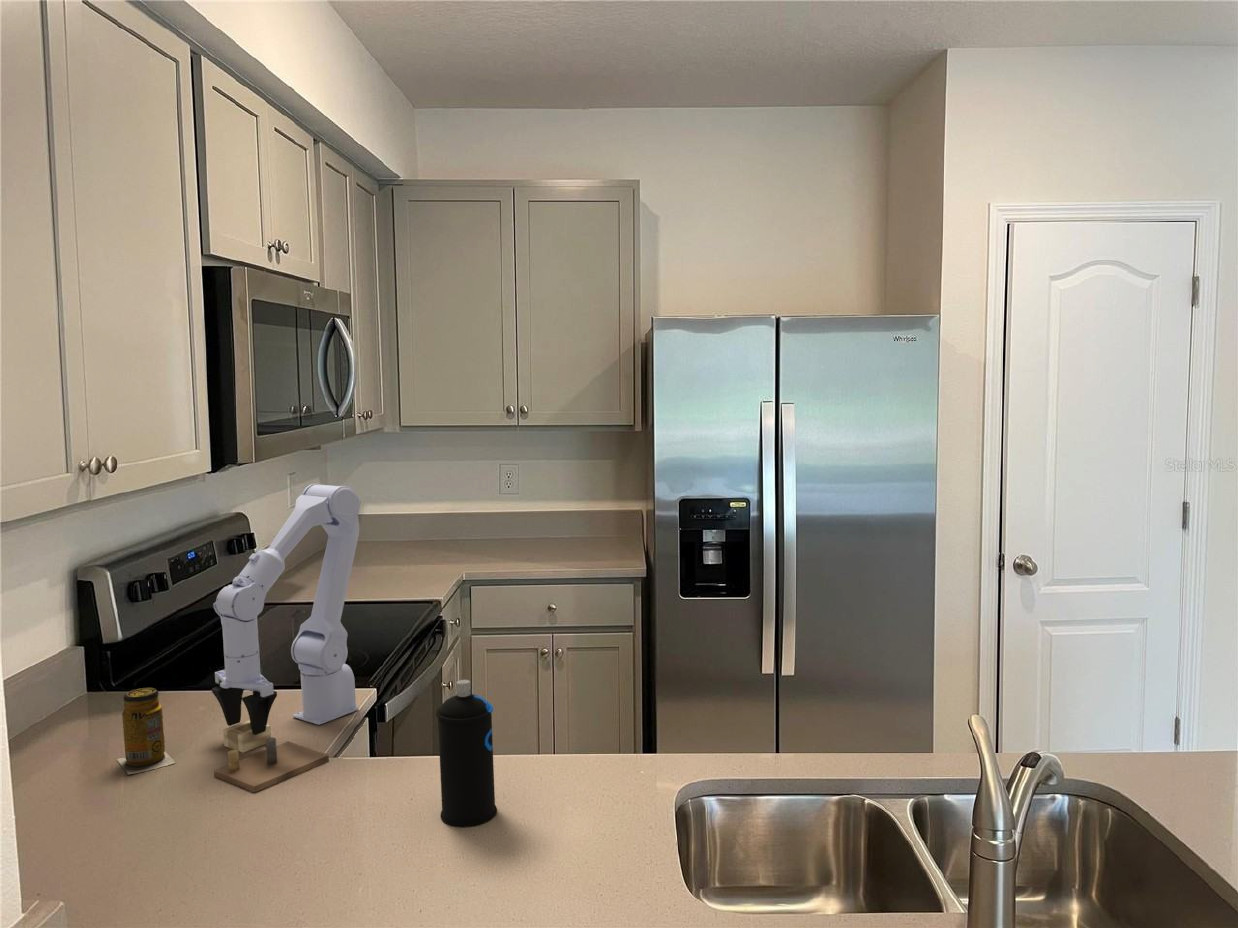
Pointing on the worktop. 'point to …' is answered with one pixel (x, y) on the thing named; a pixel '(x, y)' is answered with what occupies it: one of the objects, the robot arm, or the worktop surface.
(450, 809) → the aerosol can
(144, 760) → the condiment
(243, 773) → the post board
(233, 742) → the ring
